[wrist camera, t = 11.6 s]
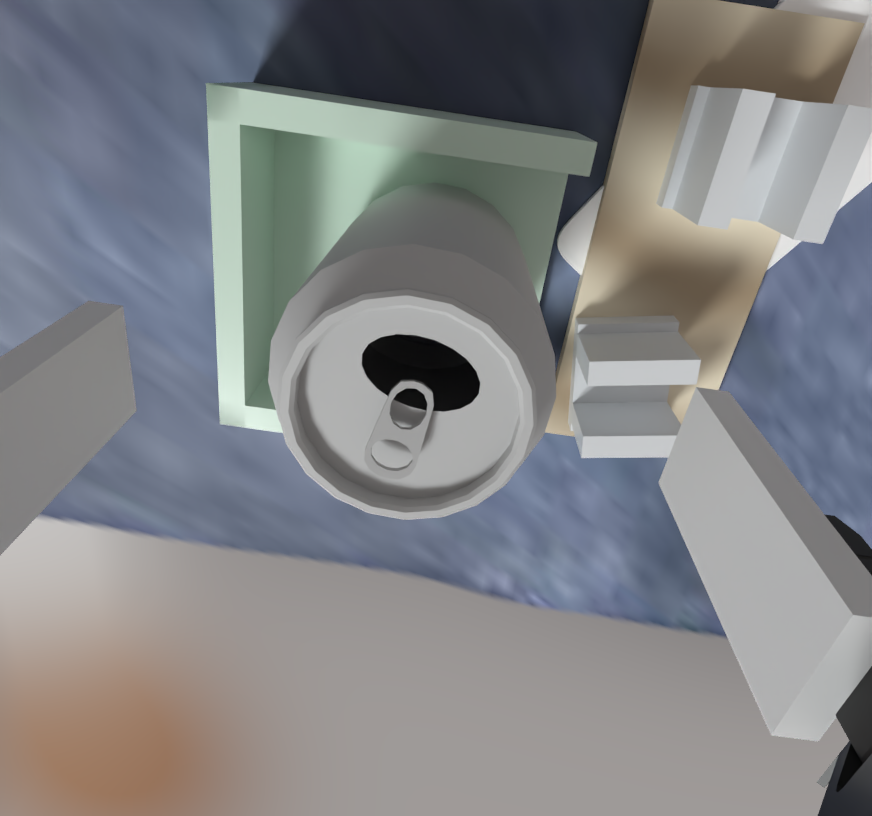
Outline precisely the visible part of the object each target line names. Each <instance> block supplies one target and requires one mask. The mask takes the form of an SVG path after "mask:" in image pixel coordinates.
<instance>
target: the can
mask: <svg viewBox="0 0 872 816" xmlns="http://www.w3.org/2000/svg"><path fill="white" fill-rule="evenodd" d="M268 383H269V387H270V391H271V394H272V398H273V401H274V405H275V408H276V412H277V416H278V419H279V422H280V423H281V427H282V430H283V434H284V438H285V441H286V444H287V446H288V447H289V449H290V450H291V452H292V453H293V455H294V456H295V458H296V459H297V461H298V462H299V464H300V465H301V467H302V468H303V470H304V471H305V473H306V474H307V475H308V476H309V477H311V478H312V479H313V480H314V481H315V482H317V483H318V484H319V485H320V486H321V487H323V488H324V489H325V490H326V491H327V492H329V493H330V494H331V495H332V496H333V497H335V498H337V499H339V500H341V501H343V502H346V503H348V504H350V505H352V506H354V507H356V508H359V509H361V510H363V511H365V512H367V513H371V514H376V515H382V516H387V517H393V518H398V519H404V520H409V519H423V518H438V517H444V516H447V515H450V514H453V513H456V512H459V511H462V510H465V509H468V508H470V507H473V506H476V505H478V504H479V503H481V502H482V501H483V500H485V499H486V498H488V497H489V496H491V495H492V494H493V493H495V492H496V491H498V490H499V489H501V488H502V487H503V486H505V485H506V484H507V482H508V481H509V480H510V478H511V477H512V476H513V474H514V473H515V472H516V471H517V469H518V468H519V467H520V466H521V465H522V463H523V462H524V461H525V459H526V458H527V457H528V455H529V454H530V453H531V451H532V450H533V449H534V447H535V446H536V445H537V443H538V442H539V441H540V439H541V438H542V437H543V436H544V433H545V430H546V427H547V424H548V421H549V418H550V415H551V412H552V408H553V405H554V402H555V399H556V375H555V354H554V351H553V348H552V344H551V341H550V338H549V335H548V331H547V328H546V325H545V322H544V318H543V315H542V312H541V309H540V305H539V302H538V299H537V296H536V292H535V289H534V286H533V282H532V279H531V276H530V273H529V269H528V266H527V263H526V260H525V257H524V254H523V252H522V249H521V247H520V244H519V242H518V239H517V237H516V234H515V232H514V229H513V228H512V227H511V226H510V224H509V223H508V222H507V221H506V220H505V219H504V217H503V216H502V215H501V214H500V213H499V212H498V210H497V209H496V208H495V207H494V206H493V205H492V204H490V203H488V202H487V201H485V200H483V199H482V198H480V197H478V196H477V195H475V194H473V193H472V192H470V191H468V190H467V189H464V188H459V187H454V186H449V185H445V184H440V183H435V182H433V183H425V184H416V185H408V186H402V187H400V188H398V189H396V190H394V191H392V192H390V193H388V194H386V195H384V196H382V197H380V198H378V199H376V200H374V201H373V202H372V203H371V204H370V205H369V206H368V207H367V208H366V209H365V210H364V211H363V212H362V213H361V214H360V215H359V216H358V217H357V218H356V219H355V220H354V221H353V222H352V224H351V225H350V226H349V227H348V229H347V230H346V231H345V232H344V234H343V235H342V236H341V237H340V239H339V240H338V241H337V242H336V244H335V245H334V246H333V247H332V249H331V250H330V251H329V252H328V254H327V255H326V256H325V257H324V259H323V260H322V261H321V262H320V264H319V265H318V266H317V267H316V268H315V270H314V271H313V272H312V273H311V275H310V276H309V277H308V278H307V280H306V281H305V282H304V283H303V285H302V286H301V287H300V288H299V290H298V291H297V292H296V293H295V295H294V296H293V297H292V298H291V300H290V301H289V302H288V304H287V306H286V309H285V311H284V313H283V315H282V318H281V320H280V322H279V324H278V326H277V329H276V331H275V333H274V335H273V337H272V340H271V346H270V361H269V376H268Z"/></svg>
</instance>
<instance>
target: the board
mask: <svg viewBox="0 0 872 816" xmlns="http://www.w3.org/2000/svg"><path fill="white" fill-rule="evenodd" d="M864 24H865V23H860V22H853V21H847V20H841V19H834V18H828V17H822V16H815V15H809V14H802V13H796V12H790V11H783V10H777V9H771V8H764V7H758V6H752V5H745V4H739V3H733V2H726V1H720V0H650V1H649V5H648V9H647V13H646V17H645V21H644V25H643V29H642V33H641V37H640V41H639V45H638V48H637V52H636V56H635V60H634V64H633V68H632V72H631V76H630V80H629V84H628V88H627V92H626V96H625V100H624V104H623V108H622V112H621V116H620V120H619V124H618V128H617V132H616V136H615V140H614V144H613V148H612V152H611V156H610V160H609V163H608V167H607V171H606V175H605V179H604V183H603V185H604V189H603V193H602V197H601V201H600V205H599V209H598V213H597V217H596V221H595V224H594V228H593V232H592V236H591V240H590V244H589V248H588V252H587V256H586V260H585V264H584V268H583V272H582V275H580V278H579V282H578V286H577V290H576V294H575V298H574V302H573V306H572V310H571V314H570V318H569V322H568V326H567V330H566V334H565V338H564V342H563V346H562V350H561V354H560V358H559V362H558V366H557V370H556V374H555V375H556V399H555V402H554V405H553V408H552V412H551V415H550V418H549V421H548V424H547V427H546V430H545V432H546V433H553V434H561V435H568V436H575V435H574V431H570V427H569V424H568V415H569V401H570V386H571V372H572V358H573V344H574V329H575V318H581V317H627V316H672V315H674V317H675V318H676V319H677V320H678V321H679V328H678V332H679V333H680V335H681V336H682V337H683V338H684V340H685V341H686V342H687V343H688V344H689V346H690V347H691V348H692V349H693V351H694V352H695V353H696V354H697V355H698V357H699V358H700V359H701V363H700V369H699V374H698V380H697V384H695V385H670V386H669V393H668V399H667V403H668V404H669V406H670V407H671V409H672V411H673V412H674V414H675V416H676V417H677V419H678V421H679V422H680V424H682V422H683V419H684V417H685V414H686V411H687V409H688V406H689V404H690V401H691V399H692V396H693V394H694V391H695V388H696V387H699V388H706V389H713V390H719V387H720V385H721V382H722V380H723V377H724V375H725V372H726V370H727V367H728V365H729V362H730V360H731V357H732V355H733V352H734V350H735V347H736V345H737V342H738V340H739V337H740V335H741V332H742V330H743V327H744V325H745V322H746V320H747V317H748V315H749V312H750V310H751V307H752V305H753V302H754V300H755V297H756V295H757V292H758V290H759V287H760V284H761V282H762V279H763V277H764V274H765V272H766V269H767V267H768V264H769V262H770V259H771V257H772V254H773V252H774V249H775V247H776V244H777V242H778V239H779V237H780V234H781V233H779V232H777V231H775V230H773V229H771V228H769V227H767V226H765V225H763V224H761V223H759V222H755V221H749V220H742V219H735V218H731V221H730V224H729V227H728V230H726V229H719V228H712V227H706V226H699V225H696V224H695V223H693V222H692V221H690V220H689V219H687V218H685V217H684V216H682V215H681V214H679V213H678V212H676V211H675V210H673V209H668V208H662V207H660V206H659V205H657V204H656V202H657V198H658V195H659V192H660V188H661V185H662V182H663V178H664V175H665V171H666V168H667V165H668V161H669V158H670V155H671V151H672V148H673V144H674V141H675V138H676V134H677V131H678V127H679V124H680V121H681V117H682V114H683V111H684V107H685V104H686V100H687V97H688V94H689V90H690V87H691V85H698V86H705V87H715V88H740V89H749V90H755V91H762V92H768V93H775V94H776V95H775V97H776V98H783V99H789V100H796V101H802V102H815V103H829V104H833V102H834V99H835V97H836V94H837V92H838V89H839V87H840V84H841V82H842V79H843V77H844V74H845V72H846V69H847V66H848V64H849V61H850V59H851V56H852V54H853V51H854V49H855V46H856V44H857V41H858V39H859V36H860V34H861V31H862V29H863V26H864Z"/></svg>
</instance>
